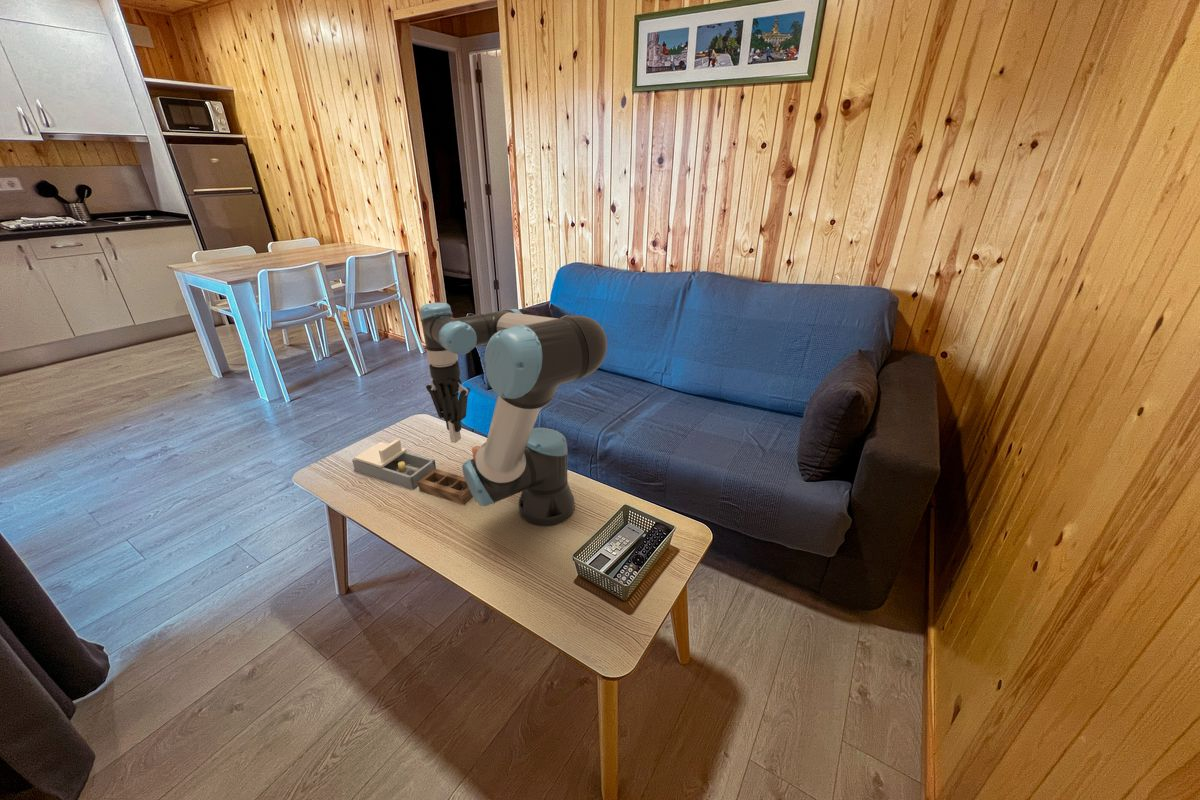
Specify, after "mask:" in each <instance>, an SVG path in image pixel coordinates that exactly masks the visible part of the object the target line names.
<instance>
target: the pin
mask: <svg viewBox="0 0 1200 800" xmlns="http://www.w3.org/2000/svg"><path fill="white" fill-rule="evenodd" d="M480 447H481V445H480V446H479V445H476V446H473V447H472V448H471V453H472V459H474V458H475V457H476V453H477V451H478V449H479V448H480Z"/></svg>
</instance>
